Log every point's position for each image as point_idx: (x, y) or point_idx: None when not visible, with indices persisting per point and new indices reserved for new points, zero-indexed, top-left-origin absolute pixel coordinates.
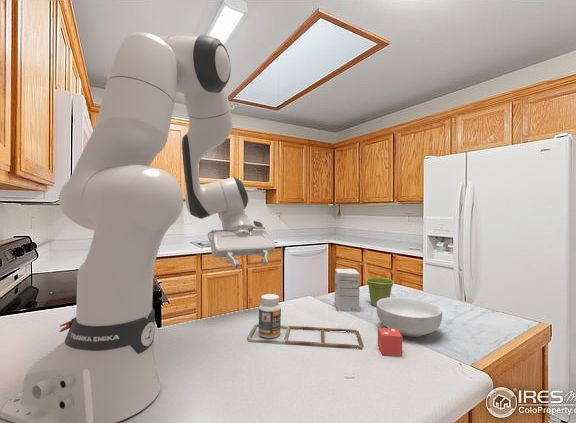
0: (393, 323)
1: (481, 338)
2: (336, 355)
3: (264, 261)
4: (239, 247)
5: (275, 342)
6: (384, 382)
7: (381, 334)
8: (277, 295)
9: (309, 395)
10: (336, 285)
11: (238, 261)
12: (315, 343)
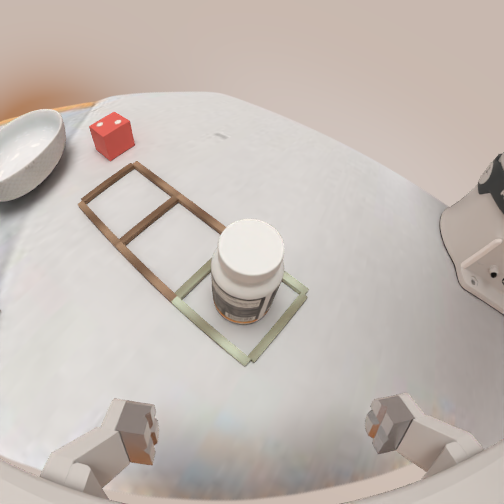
0: (62, 145)
1: None
2: (187, 170)
3: (145, 405)
4: (417, 499)
5: None
6: (195, 118)
7: (126, 122)
8: (219, 241)
9: (288, 139)
10: None
11: (386, 412)
12: (191, 201)
